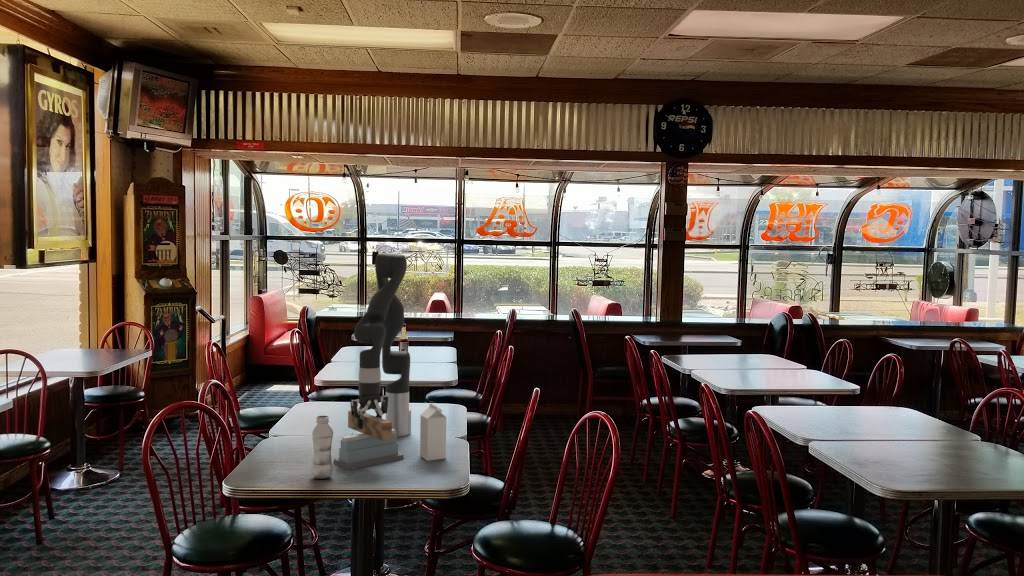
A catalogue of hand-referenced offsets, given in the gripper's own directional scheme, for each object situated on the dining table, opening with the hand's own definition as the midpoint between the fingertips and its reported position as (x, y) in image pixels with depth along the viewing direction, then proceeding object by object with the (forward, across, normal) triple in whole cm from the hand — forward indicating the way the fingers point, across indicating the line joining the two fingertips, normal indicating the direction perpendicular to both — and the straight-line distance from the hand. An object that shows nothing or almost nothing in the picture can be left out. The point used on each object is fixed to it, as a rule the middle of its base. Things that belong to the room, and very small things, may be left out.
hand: (369, 427), depth 272 cm
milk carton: (+12, +20, -10) cm, 25 cm away
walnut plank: (+2, 0, 0) cm, 2 cm away
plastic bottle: (+12, -22, -8) cm, 26 cm away
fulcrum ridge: (+12, 0, 0) cm, 12 cm away
